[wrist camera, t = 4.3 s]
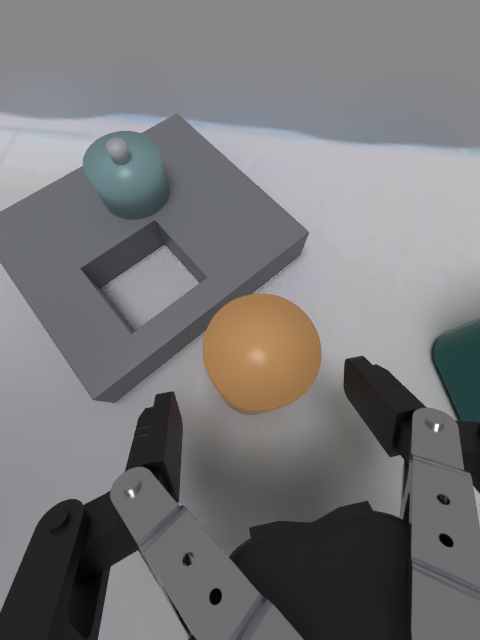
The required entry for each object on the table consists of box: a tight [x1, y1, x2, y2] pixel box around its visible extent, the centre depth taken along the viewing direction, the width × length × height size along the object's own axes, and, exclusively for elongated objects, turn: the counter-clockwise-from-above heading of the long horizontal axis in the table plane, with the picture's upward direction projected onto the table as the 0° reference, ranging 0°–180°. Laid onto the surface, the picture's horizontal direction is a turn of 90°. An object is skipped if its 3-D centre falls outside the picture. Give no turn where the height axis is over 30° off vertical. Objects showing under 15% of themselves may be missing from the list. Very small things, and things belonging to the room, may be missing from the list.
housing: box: [0, 114, 309, 403], centre depth 20 cm, size 18×16×7 cm
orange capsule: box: [203, 294, 321, 414], centre depth 15 cm, size 4×4×10 cm
